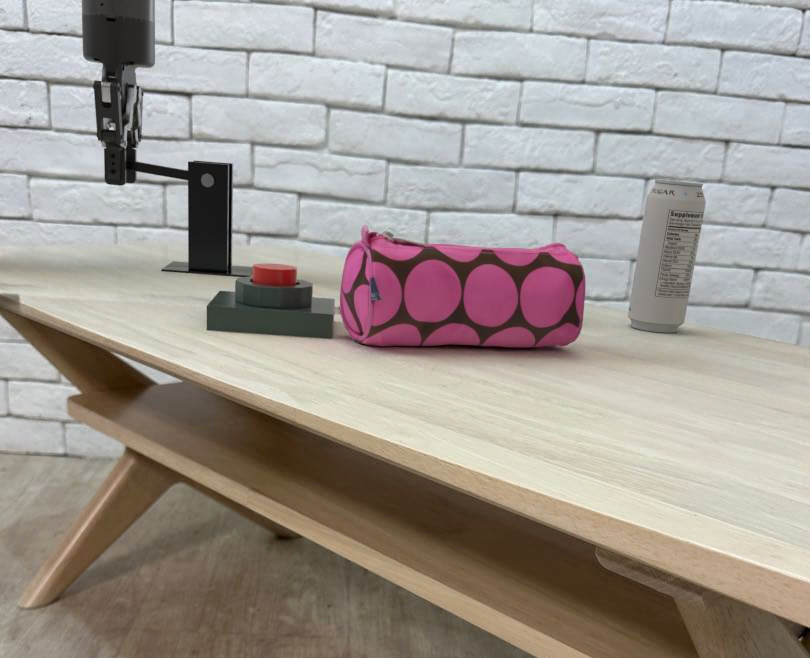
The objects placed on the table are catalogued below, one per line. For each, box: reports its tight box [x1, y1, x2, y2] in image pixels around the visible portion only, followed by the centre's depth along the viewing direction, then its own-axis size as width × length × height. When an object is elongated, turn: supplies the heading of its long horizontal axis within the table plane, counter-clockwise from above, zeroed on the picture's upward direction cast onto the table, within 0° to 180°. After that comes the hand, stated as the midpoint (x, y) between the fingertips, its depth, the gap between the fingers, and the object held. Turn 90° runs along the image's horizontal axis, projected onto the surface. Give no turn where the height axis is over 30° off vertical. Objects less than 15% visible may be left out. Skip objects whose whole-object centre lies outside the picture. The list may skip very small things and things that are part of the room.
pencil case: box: [339, 224, 587, 348], centre depth 88 cm, size 21×10×10 cm, turn 111°
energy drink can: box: [627, 179, 707, 334], centre depth 105 cm, size 6×6×15 cm
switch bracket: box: [161, 160, 253, 278], centre depth 115 cm, size 10×8×13 cm
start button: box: [252, 263, 298, 286], centre depth 90 cm, size 4×4×2 cm
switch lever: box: [126, 157, 188, 181], centre depth 112 cm, size 12×5×2 cm, turn 93°
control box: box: [206, 276, 336, 340], centre depth 91 cm, size 11×9×4 cm
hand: (121, 183), depth 112 cm, fingers closed on switch lever, 5 cm apart
